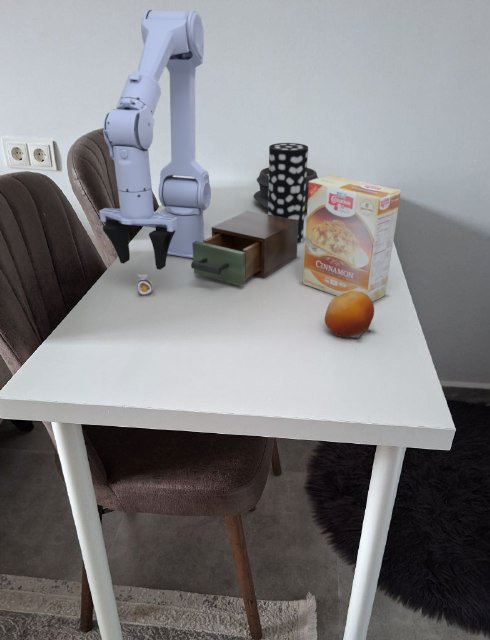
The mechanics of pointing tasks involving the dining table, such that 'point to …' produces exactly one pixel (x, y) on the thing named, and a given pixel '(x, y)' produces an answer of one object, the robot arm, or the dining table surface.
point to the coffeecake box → (349, 236)
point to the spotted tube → (288, 182)
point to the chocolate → (144, 286)
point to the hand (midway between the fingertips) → (142, 264)
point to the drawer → (227, 258)
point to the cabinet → (265, 237)
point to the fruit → (350, 314)
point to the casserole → (264, 180)
